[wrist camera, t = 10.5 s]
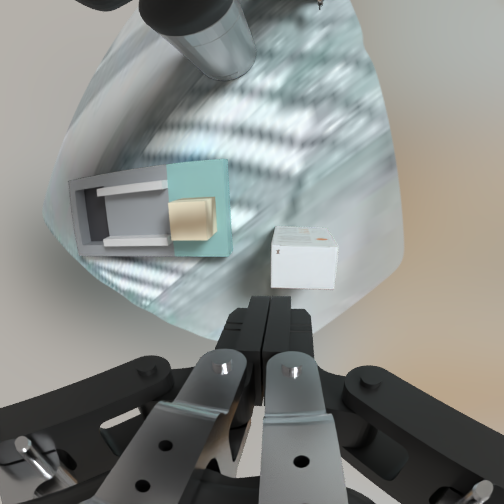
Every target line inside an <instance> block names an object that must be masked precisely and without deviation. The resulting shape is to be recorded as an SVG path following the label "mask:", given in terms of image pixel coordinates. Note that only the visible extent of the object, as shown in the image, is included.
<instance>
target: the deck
mask: <svg viewBox="0 0 504 504" xmlns="http://www.w3.org/2000/svg"><path fill="white" fill-rule="evenodd" d="M68 182H69V193H70V202H71V210H72V217H73V224H74V231H75V237H76V242H77V248H78V253H79V256H192V257H229V255H230V254H231V252H232V251H233V246H232V230H231V214H230V197H229V179H228V159H215V160H203V161H192V162H183V163H174V164H165V165H157V166H150V167H143V168H136V169H129V170H123V171H117V172H111V173H106V174H100V175H95V176H90V177H85V178H80V179H75V180H70V181H68ZM194 197H215V201H216V219H217V232H216V233H215V234H214V235H213V236H212V237H211V238H209V239H208V240H175V241H172V240H171V230H170V220H169V208H168V203H169V202H172V201H175V200H178V199H181V198H194Z"/></svg>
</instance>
